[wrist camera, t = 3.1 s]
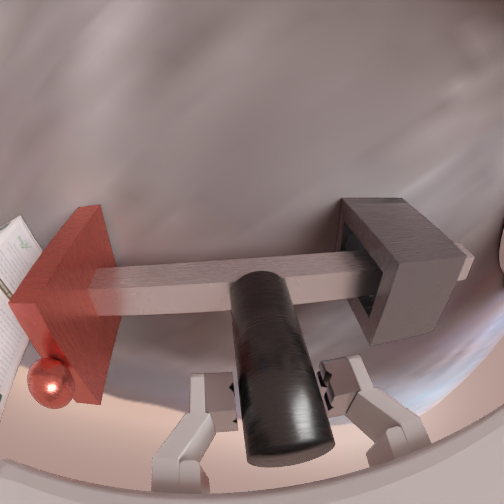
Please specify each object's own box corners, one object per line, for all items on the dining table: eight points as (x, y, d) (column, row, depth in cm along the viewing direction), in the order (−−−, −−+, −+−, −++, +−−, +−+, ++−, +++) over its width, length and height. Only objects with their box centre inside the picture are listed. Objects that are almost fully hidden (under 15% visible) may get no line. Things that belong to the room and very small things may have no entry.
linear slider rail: (447, 191, 17) (574, 303, 7) (423, 272, 21) (508, 392, 11) (73, 208, 15) (-40, 383, 5) (103, 298, 19) (57, 466, 9)
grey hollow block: (401, 198, 18) (466, 256, 12) (385, 264, 21) (432, 331, 15) (342, 198, 18) (399, 263, 12) (331, 270, 20) (370, 346, 15)
